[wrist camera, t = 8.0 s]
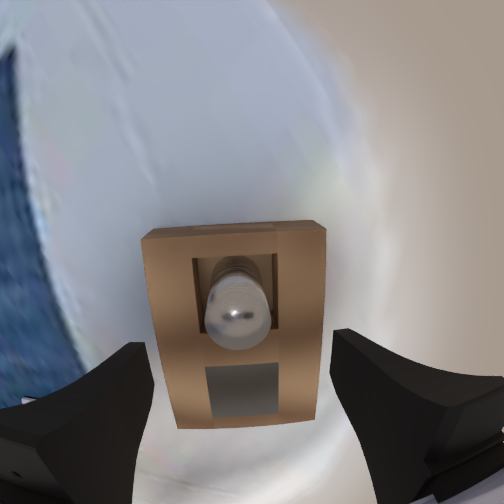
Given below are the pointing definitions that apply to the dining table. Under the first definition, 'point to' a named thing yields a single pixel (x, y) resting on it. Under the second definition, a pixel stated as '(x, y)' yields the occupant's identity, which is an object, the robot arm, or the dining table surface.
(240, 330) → the pin
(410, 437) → the robot arm
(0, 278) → the dining table surface
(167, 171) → the dining table surface
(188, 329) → the block
